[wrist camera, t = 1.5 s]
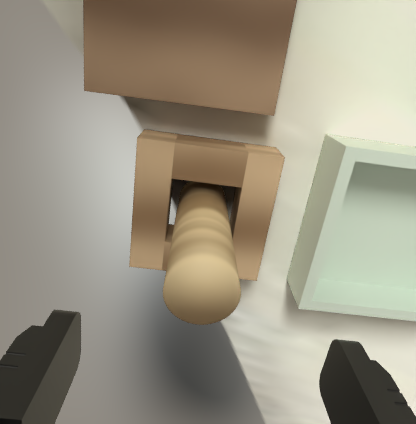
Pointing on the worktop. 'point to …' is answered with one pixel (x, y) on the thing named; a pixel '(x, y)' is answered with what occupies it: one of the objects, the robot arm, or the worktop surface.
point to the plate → (189, 50)
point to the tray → (359, 232)
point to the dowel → (202, 258)
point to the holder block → (207, 173)
